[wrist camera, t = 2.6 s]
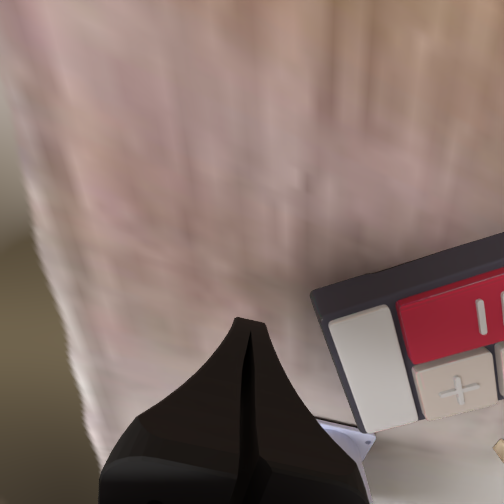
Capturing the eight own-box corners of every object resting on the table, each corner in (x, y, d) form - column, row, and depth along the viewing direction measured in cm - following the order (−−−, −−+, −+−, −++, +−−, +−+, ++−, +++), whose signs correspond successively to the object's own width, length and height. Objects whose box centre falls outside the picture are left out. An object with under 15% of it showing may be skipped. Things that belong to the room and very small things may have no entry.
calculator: (596, 389, 18) (364, 446, 21) (535, 344, 22) (346, 396, 25) (602, 237, 15) (319, 325, 17) (528, 216, 19) (307, 290, 21)
